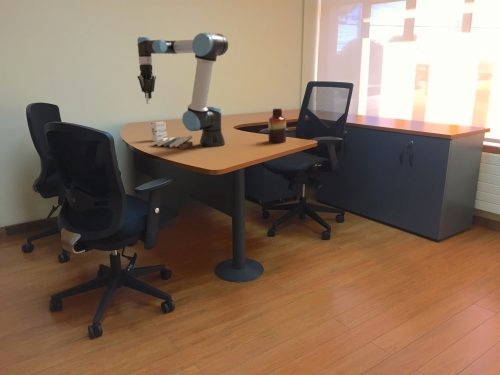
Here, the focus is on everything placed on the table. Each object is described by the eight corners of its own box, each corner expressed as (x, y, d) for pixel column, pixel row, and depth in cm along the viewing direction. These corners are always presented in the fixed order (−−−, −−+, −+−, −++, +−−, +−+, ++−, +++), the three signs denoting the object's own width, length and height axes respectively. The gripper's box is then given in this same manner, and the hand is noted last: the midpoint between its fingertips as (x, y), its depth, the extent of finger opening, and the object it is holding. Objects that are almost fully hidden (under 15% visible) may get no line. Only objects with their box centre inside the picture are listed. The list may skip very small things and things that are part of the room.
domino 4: (175, 146, 256) (186, 138, 251) (170, 147, 252) (181, 140, 247) (174, 143, 256) (185, 136, 251) (169, 145, 252) (180, 137, 247)
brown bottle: (270, 143, 260) (270, 110, 254) (267, 140, 270) (267, 108, 264) (287, 142, 262) (287, 109, 256) (283, 139, 272) (283, 107, 266)
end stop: (192, 146, 253) (192, 141, 252) (184, 149, 246) (183, 144, 245) (188, 146, 255) (188, 141, 254) (179, 149, 247) (179, 144, 246)
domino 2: (163, 145, 260) (175, 139, 255) (158, 146, 256) (170, 140, 251) (162, 142, 260) (174, 136, 255) (157, 144, 256) (169, 138, 251)
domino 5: (180, 145, 254) (192, 138, 249) (176, 147, 250) (187, 139, 245) (179, 143, 254) (191, 135, 249) (174, 144, 250) (186, 137, 245)
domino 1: (156, 144, 262) (168, 139, 257) (151, 145, 258) (163, 140, 253) (155, 142, 262) (167, 137, 257) (150, 143, 258) (162, 138, 253)
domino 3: (169, 145, 258) (181, 139, 253) (164, 147, 254) (176, 140, 249) (168, 143, 258) (179, 136, 253) (163, 144, 254) (174, 138, 249)
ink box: (162, 139, 281) (161, 121, 278) (167, 139, 278) (166, 121, 274) (152, 141, 274) (150, 122, 271) (157, 141, 271) (155, 123, 268)
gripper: (158, 64, 256) (161, 103, 263) (141, 64, 262) (144, 102, 268) (150, 64, 250) (153, 104, 256) (133, 64, 255) (136, 103, 262)
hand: (148, 103), depth 262 cm, fingers closed
